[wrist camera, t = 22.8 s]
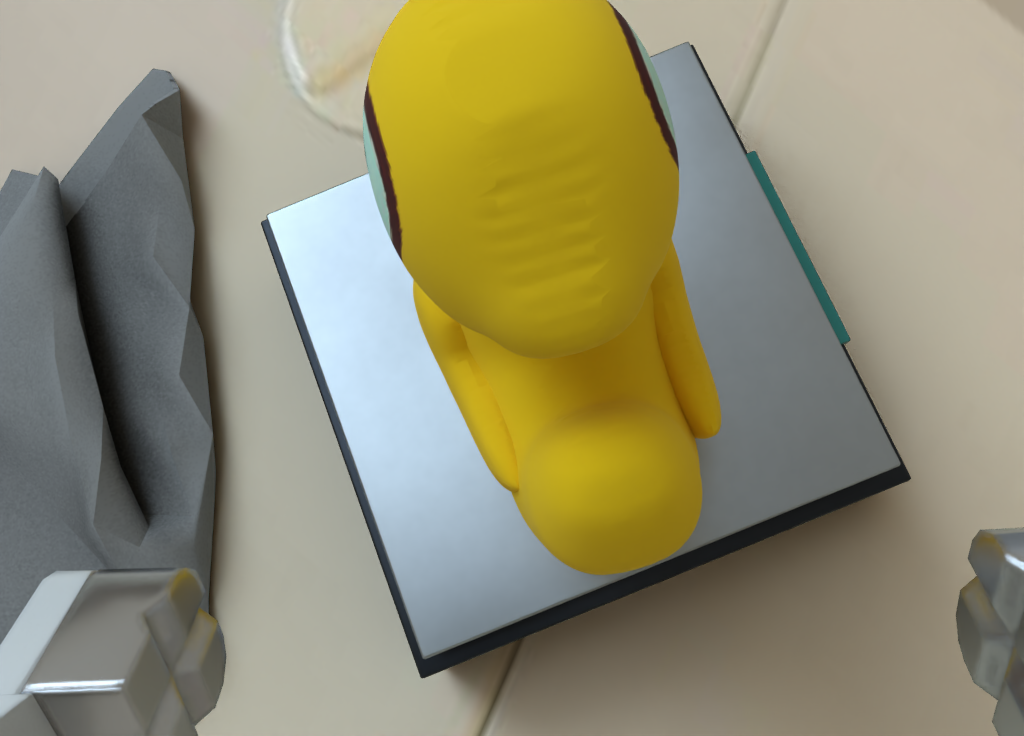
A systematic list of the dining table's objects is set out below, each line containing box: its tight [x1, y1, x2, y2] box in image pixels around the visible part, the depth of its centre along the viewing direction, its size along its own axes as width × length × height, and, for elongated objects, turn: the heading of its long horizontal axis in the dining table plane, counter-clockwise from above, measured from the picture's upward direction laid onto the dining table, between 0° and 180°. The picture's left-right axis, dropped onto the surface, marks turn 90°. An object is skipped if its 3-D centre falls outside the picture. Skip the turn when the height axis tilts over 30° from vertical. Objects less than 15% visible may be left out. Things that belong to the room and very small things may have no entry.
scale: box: [261, 42, 911, 678], centre depth 23 cm, size 12×12×4 cm
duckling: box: [363, 0, 721, 575], centre depth 16 cm, size 11×5×10 cm, turn 16°
